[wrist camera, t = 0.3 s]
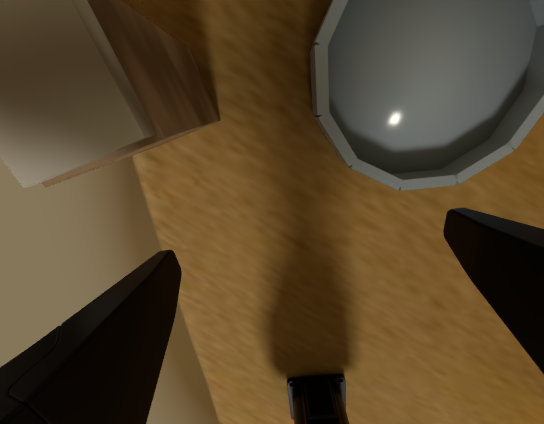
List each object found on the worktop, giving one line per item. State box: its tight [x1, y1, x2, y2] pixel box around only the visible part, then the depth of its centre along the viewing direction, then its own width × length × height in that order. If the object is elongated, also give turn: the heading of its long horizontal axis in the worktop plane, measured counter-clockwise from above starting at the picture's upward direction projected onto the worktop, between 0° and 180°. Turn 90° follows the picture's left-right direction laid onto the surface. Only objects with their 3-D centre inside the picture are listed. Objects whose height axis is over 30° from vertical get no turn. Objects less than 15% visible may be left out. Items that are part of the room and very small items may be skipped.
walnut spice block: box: [0, 0, 220, 188], centre depth 14 cm, size 5×5×13 cm
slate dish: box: [310, 0, 544, 191], centre depth 18 cm, size 16×16×2 cm
